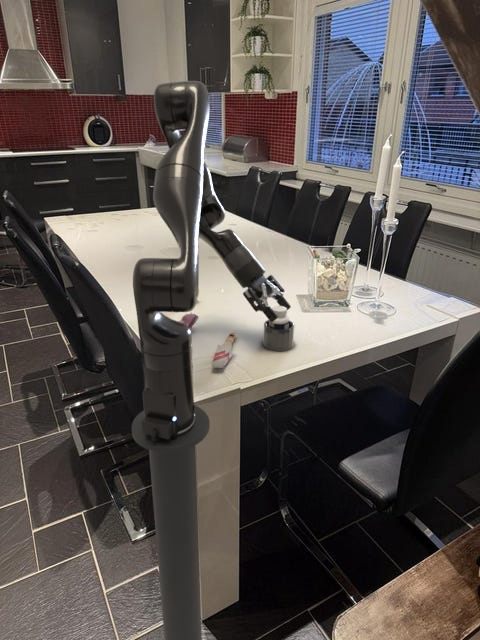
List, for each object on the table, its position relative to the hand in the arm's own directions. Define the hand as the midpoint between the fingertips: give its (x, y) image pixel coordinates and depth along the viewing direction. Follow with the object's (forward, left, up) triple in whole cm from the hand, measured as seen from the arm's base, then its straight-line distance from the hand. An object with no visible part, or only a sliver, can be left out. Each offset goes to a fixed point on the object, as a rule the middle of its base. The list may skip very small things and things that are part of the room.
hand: (281, 314), depth 122 cm
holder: (0, +1, -9) cm, 9 cm away
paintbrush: (-10, +12, -9) cm, 18 cm away
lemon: (+21, +36, -9) cm, 43 cm away
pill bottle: (+1, +1, -8) cm, 9 cm away
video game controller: (-2, +28, -9) cm, 29 cm away
